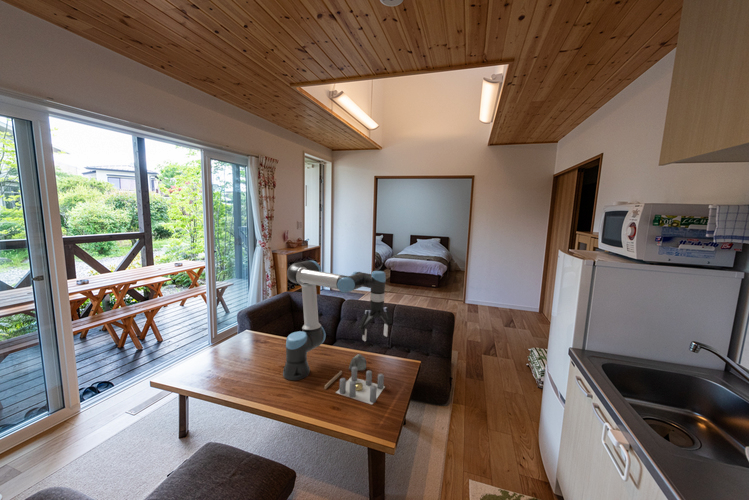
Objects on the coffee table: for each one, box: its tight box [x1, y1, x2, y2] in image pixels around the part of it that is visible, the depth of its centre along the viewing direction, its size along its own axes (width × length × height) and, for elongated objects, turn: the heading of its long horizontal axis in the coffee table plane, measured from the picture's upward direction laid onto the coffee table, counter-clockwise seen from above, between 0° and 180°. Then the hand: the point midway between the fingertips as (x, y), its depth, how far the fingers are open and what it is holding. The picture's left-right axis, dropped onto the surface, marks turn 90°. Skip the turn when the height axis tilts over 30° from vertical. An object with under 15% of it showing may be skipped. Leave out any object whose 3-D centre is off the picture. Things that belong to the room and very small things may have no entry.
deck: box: [323, 367, 386, 405], centre depth 153 cm, size 29×17×8 cm, turn 66°
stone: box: [348, 353, 368, 372], centre depth 174 cm, size 10×10×10 cm
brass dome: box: [356, 383, 363, 391], centre depth 152 cm, size 4×4×2 cm
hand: (375, 338), depth 155 cm, fingers open, 13 cm apart
